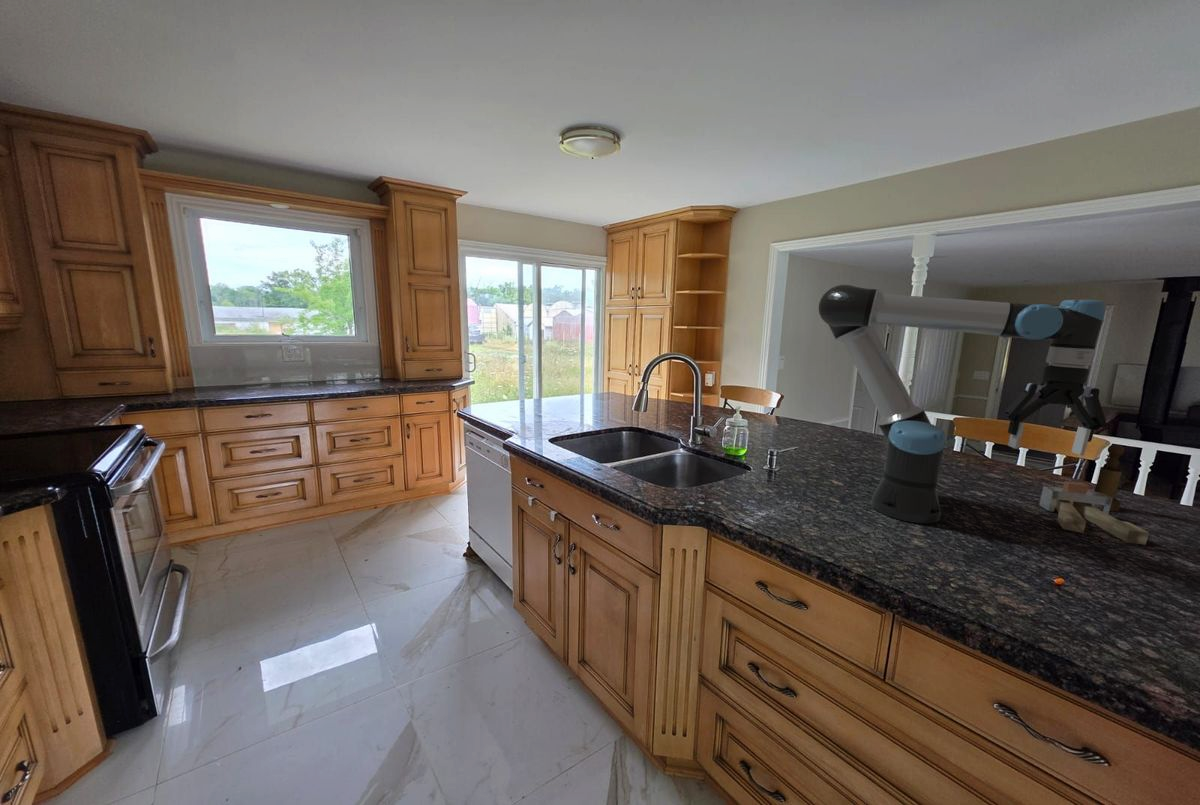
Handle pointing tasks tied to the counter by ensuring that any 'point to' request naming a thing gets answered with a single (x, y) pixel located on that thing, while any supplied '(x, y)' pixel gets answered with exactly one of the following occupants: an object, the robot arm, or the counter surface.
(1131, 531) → the tongs fixed arm
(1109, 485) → the brown wooden post
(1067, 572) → the counter surface
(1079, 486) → the lock collar
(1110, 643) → the counter surface
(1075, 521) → the tongs hinged arm
